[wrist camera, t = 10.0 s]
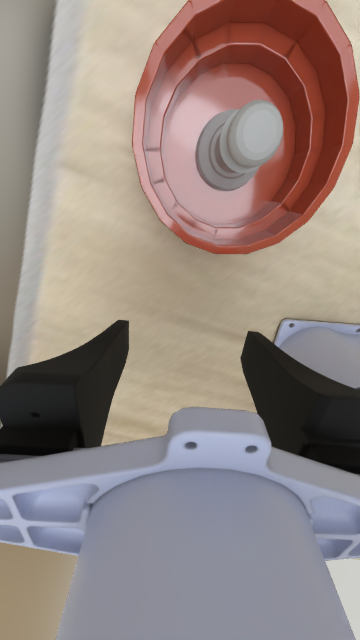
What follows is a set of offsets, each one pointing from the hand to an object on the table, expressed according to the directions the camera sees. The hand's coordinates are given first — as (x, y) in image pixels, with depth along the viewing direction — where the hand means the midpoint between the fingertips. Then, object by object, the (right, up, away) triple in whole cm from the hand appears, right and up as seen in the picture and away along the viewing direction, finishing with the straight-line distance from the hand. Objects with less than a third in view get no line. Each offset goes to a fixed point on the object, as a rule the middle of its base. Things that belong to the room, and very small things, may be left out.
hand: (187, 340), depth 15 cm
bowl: (+3, +13, +3) cm, 14 cm away
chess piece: (+3, +13, +3) cm, 14 cm away
